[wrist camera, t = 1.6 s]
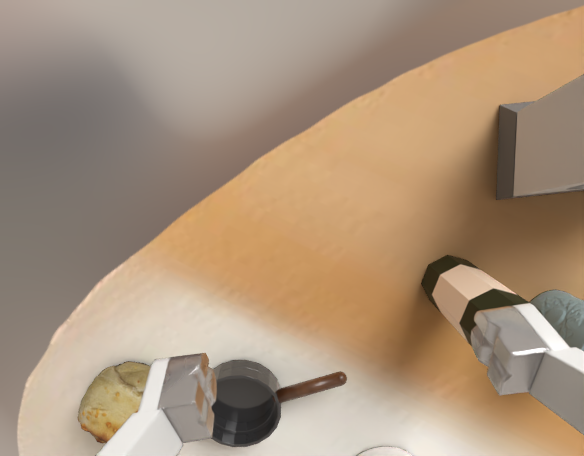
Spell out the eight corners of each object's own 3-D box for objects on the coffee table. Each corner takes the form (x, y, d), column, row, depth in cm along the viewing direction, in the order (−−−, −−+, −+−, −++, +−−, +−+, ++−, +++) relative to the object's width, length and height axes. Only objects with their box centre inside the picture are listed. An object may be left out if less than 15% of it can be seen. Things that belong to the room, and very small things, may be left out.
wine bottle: (410, 284, 58) (543, 438, 29) (447, 244, 56) (628, 363, 27) (447, 314, 59) (611, 489, 30) (485, 275, 58) (694, 420, 29)
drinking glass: (518, 291, 58) (578, 331, 47) (582, 278, 58) (657, 315, 47) (521, 347, 61) (578, 397, 49) (582, 335, 61) (654, 382, 49)
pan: (290, 413, 63) (291, 433, 58) (217, 433, 63) (213, 456, 59) (266, 348, 60) (265, 365, 55) (190, 371, 60) (183, 389, 56)
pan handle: (343, 367, 58) (345, 375, 56) (346, 377, 58) (349, 386, 57) (270, 388, 58) (270, 397, 57) (274, 398, 59) (274, 407, 57)
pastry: (97, 427, 62) (71, 470, 54) (80, 363, 59) (50, 397, 51) (181, 419, 62) (167, 460, 55) (168, 354, 59) (151, 388, 51)
